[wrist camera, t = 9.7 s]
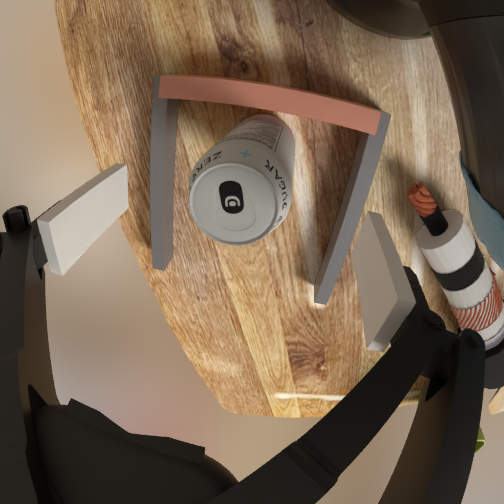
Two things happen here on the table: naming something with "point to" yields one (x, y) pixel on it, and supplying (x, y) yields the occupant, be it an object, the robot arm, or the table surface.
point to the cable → (463, 278)
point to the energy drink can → (244, 182)
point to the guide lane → (273, 99)
